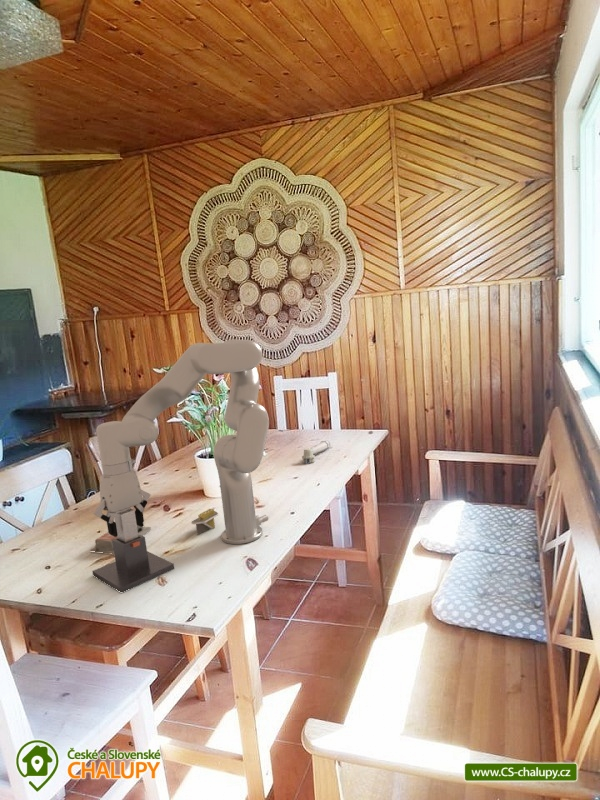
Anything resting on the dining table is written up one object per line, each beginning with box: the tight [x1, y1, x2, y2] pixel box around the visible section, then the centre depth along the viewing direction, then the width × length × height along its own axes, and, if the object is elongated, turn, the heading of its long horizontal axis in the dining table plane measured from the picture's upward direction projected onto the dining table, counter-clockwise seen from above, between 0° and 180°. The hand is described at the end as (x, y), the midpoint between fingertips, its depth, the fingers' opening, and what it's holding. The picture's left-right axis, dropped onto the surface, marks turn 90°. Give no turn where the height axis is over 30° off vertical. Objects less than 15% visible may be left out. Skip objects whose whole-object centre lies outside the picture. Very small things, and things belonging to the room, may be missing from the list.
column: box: [114, 507, 139, 544], centre depth 157 cm, size 4×4×16 cm
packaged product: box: [89, 525, 152, 555], centre depth 181 cm, size 18×5×10 cm
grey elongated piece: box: [301, 440, 331, 464], centre depth 255 cm, size 5×7×25 cm
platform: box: [191, 508, 219, 536], centre depth 182 cm, size 12×18×7 cm, turn 148°
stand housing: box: [92, 534, 175, 593], centre depth 158 cm, size 16×16×10 cm
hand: (127, 529), depth 156 cm, fingers open, 7 cm apart
